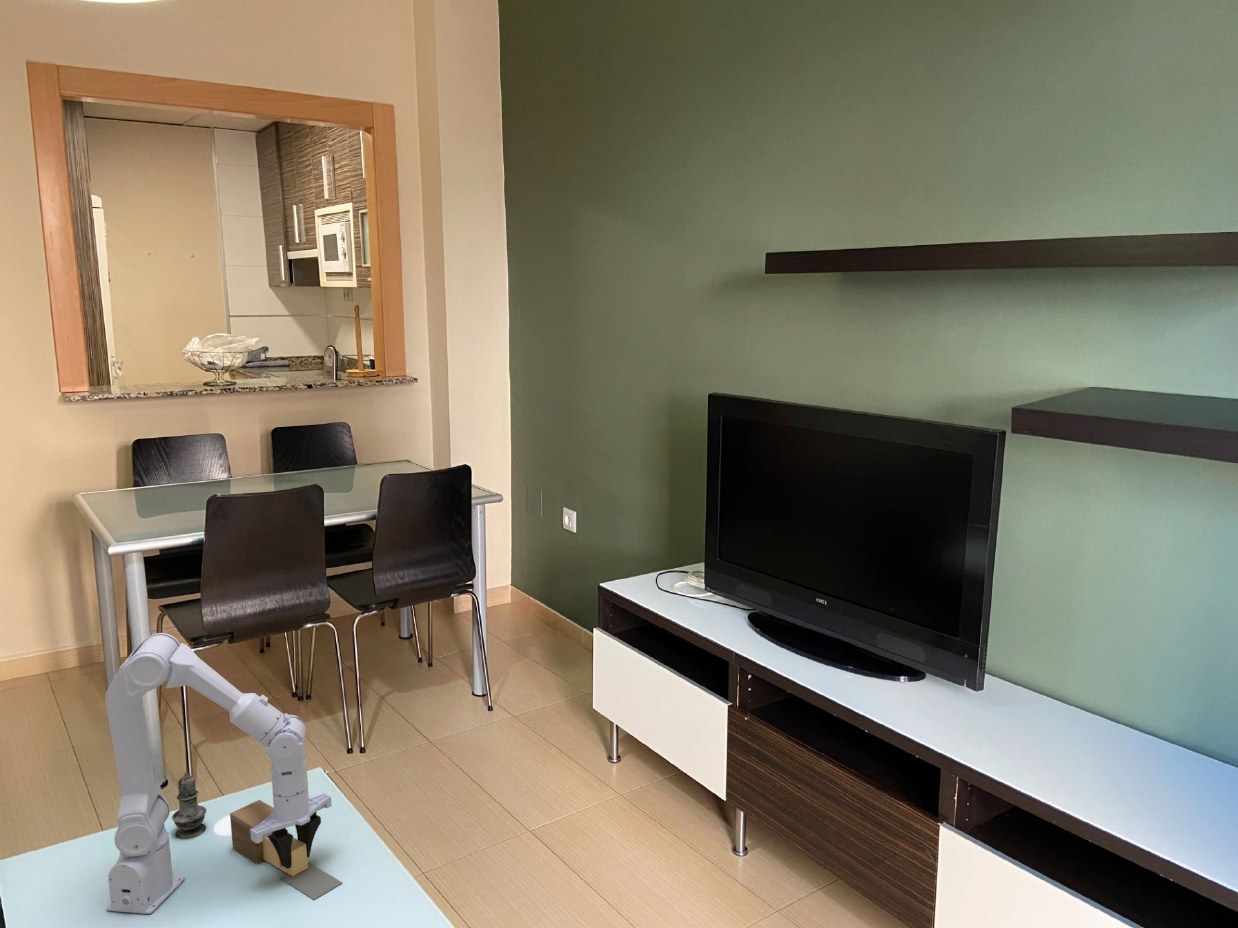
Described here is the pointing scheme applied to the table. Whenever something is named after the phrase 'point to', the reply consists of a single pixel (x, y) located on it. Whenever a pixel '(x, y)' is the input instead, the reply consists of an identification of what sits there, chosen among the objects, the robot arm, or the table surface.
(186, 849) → the table surface
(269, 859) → the tan rectangular block
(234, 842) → the brown wooden open box
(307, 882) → the mat
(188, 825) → the grey stone finial
